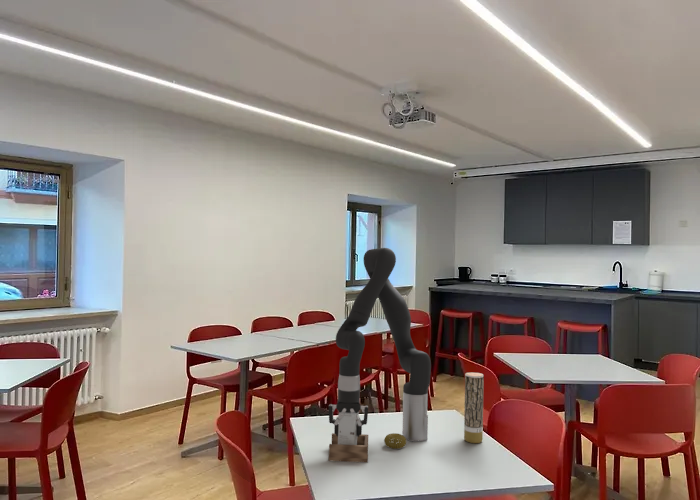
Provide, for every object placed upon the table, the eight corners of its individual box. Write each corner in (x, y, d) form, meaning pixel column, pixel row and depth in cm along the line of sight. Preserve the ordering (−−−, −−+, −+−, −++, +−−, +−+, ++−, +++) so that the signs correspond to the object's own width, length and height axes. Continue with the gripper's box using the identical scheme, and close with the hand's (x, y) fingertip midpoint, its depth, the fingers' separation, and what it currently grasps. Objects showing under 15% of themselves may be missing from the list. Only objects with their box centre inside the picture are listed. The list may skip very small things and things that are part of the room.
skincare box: (337, 447, 180) (338, 412, 180) (341, 443, 184) (342, 408, 184) (354, 450, 178) (355, 414, 178) (358, 445, 182) (358, 410, 182)
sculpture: (410, 435, 191) (397, 440, 185) (410, 446, 190) (397, 452, 185) (393, 430, 196) (379, 435, 190) (393, 441, 196) (379, 446, 190)
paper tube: (462, 442, 196) (463, 375, 196) (465, 436, 202) (466, 371, 203) (481, 445, 193) (482, 377, 194) (483, 439, 200) (484, 373, 200)
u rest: (368, 449, 187) (368, 434, 187) (367, 462, 175) (368, 446, 175) (331, 447, 187) (332, 433, 187) (328, 460, 175) (329, 445, 175)
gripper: (369, 385, 185) (368, 433, 184) (329, 384, 185) (328, 431, 185) (369, 391, 177) (368, 440, 177) (327, 389, 178) (326, 438, 178)
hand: (347, 435), depth 181 cm, fingers closed on skincare box, 6 cm apart
